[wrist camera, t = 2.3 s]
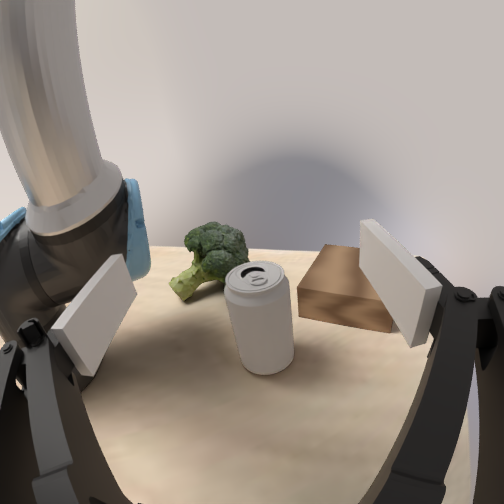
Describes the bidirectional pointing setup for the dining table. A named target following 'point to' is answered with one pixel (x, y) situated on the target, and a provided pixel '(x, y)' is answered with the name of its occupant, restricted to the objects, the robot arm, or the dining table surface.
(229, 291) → the beverage can
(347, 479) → the dining table surface
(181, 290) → the vegetable
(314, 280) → the walnut block
